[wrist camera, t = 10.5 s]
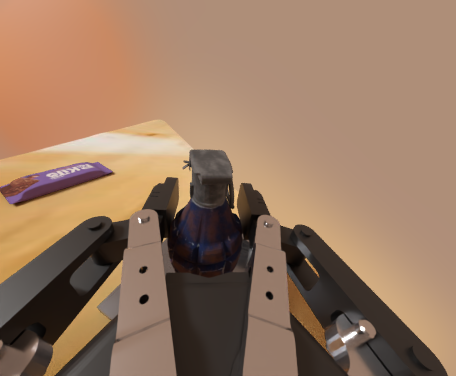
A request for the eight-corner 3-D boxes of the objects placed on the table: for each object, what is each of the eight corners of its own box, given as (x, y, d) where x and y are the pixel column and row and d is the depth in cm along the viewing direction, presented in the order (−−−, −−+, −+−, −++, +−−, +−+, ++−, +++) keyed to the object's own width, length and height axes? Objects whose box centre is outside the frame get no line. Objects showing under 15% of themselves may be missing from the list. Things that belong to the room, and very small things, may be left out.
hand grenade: (173, 244, 15) (162, 136, 10) (223, 237, 16) (238, 139, 11) (171, 317, 11) (148, 190, 5) (241, 300, 12) (282, 184, 6)
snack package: (96, 157, 29) (112, 166, 27) (99, 166, 30) (114, 176, 28) (-9, 181, 20) (5, 198, 19) (1, 193, 21) (14, 210, 20)
